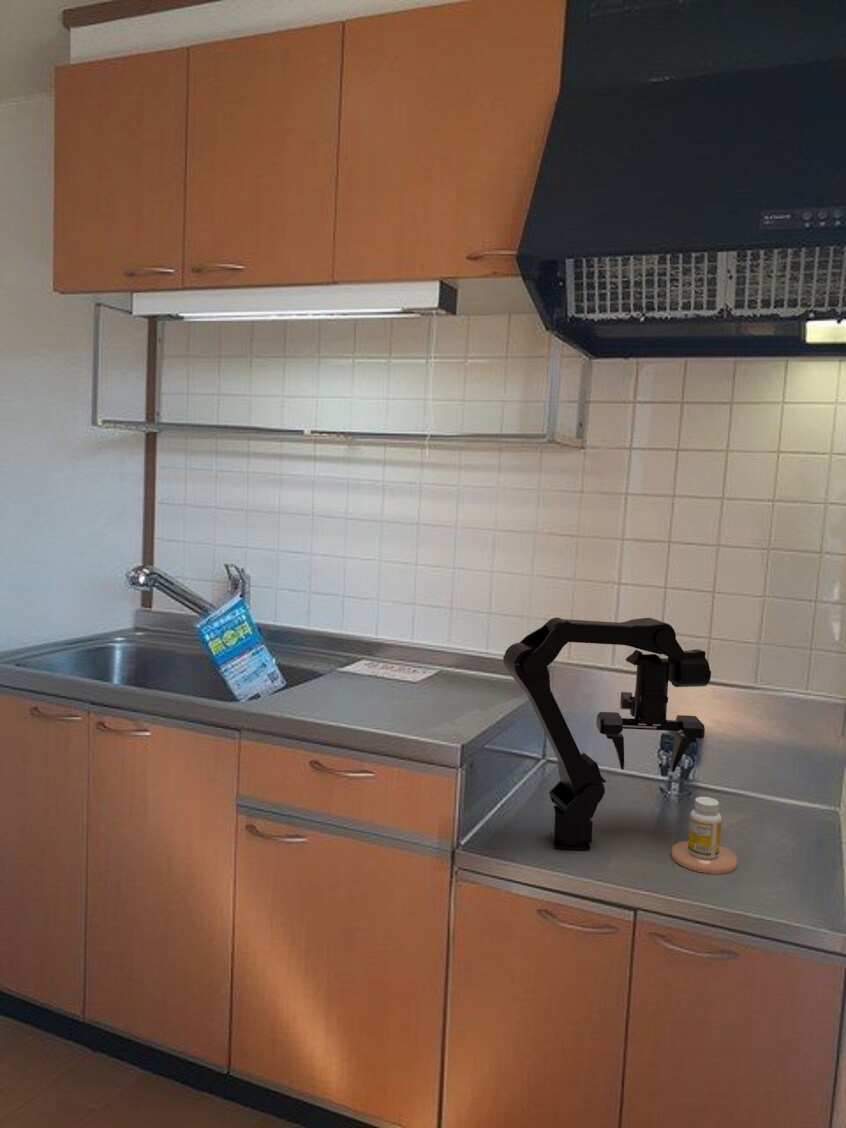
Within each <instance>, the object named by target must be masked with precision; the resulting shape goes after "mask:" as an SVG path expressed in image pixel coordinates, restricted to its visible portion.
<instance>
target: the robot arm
mask: <svg viewBox="0 0 846 1128" xmlns="http://www.w3.org/2000/svg"><path fill="white" fill-rule="evenodd" d="M672 626H673V625H671V624H670V623H666V622H664V621H661V620H659V619H655V618H653V617H642V618H636V619H635V618H633V619H629V620H627V621H621V622H615V621H600V620H599V621H598V620H597V621H596V620H585V619H584V620H581V619H569V618H568V619H567V618H565V619H564V618H561V617H553V618H551V619H549V620H548V621H547V622H546V623H544V625H542V626H541V627H539V628H537V629H535V630H534V631H532V632H530V634H528V635H526V636H525V637H524V638H522V640H520V641H519V642H516V643H513V644H511V645H509V647H508V648H507V649H506V650H505V652H504V654H503V658H502V659H503V664H504V666H505V668H506V670H507V671H508V673H509V674H510V676H511V677H512V678H513V679H514V681H515V682H516V684H517V685H518V686H519V687H520V688H521V689H522V690H523V692H524V693H525V695H526V696H527V698H528V699H529V702H530V704H531V706H532V708H533V710H534V712H535V714H536V717H537V718H538V722H539V723H540V725H541V727H542V729H543V731H544V733H545V735H546V737H547V739H548V742H549V744H550V746H551V748H552V750H553V753H554V754H555V757H556V759H557V764H558V765H557V768H558V771H557V772H558V775H559V779H560V780H559V781H558V783H556V785H555V786H553V787H552V788H551V790H550V791H549V792H548V795H549V798H550V801H551V803H553V813H552V814H553V815H552V816H553V817H552V831H550V838H551V841H552V847H553V848H554V849H559V850H560V849H561V850H579V851H581V850H583V851H590V850H591V846H590V844H592V842H593V824H594V823H593V817H594V816H595V812H596V810H597V807H598V805H599V803H600V802H601V801H602V800H603V799H604V796H605V793H606V788H605V785H604V783H607V781H606V779H605V778H603V775H602V774H601V771H600V768H599V765H598V762H596V761H595V760H594V759H593V758H591V757H590V756H589V755H588V754H586V753H585V752H583V753H581V752H580V749H579V748H578V746H577V744H576V741H575V739H574V737H573V735H572V732H571V730H570V729H569V726H568V724H567V722H566V719H565V717H564V715H563V714H562V713H563V712H562V711H561V709H560V707H559V705H558V703H557V699H555V696H554V694H553V691H552V689H551V679H550V678H551V676H550V673H549V669H548V666H549V665H551V663H553V662H554V661H555V660H556V659H557V657H558V656H559V654H560V652H561V651H562V649H563V648H564V647H565V646H566V645H567V644H568V643H577V644H579V643H581V644H595V645H596V644H597V645H599V644H600V645H613V646H614V645H616V646H619V645H620V646H628V647H631V648H635V650H634V651H633V652H632V654H629V656H627V657H626V658H625V661H626V662H627V663H630V665H634V666H636V676H635V677H636V678H635V679H636V680H635V691H634V696H633V693H632V692H628V691H621V692H620V700H619V701H620V704H619V705H620V709H621V710H629V714H630V716H631V717H633V718H626V717H624V718H623V717H622V716H621V715H620V713H619V712H612V711H600V712H598V713H597V714H596V723H595V724H596V727H597V730H598V732H599V734H602V735H605V737H606V738H607V739H609V740H612V743H613V745H614V748H615V752H616V756H617V760H618V762H619V763H618V764H619V767H620V769H621V770H622V771H623V770H624V768H625V739H624V738H625V737H624V736H623V733H622V732H623V730H642V731H643V730H644V731H645V730H646V731H668V732H673V746H672V752H671V758H670V771H671V773H674V772H675V771H676V769H677V767H678V765H679V763H680V761H681V759H682V757H683V756H684V754H685V753H686V752H687V750H688V749H689V747H690V745H691V744H693V743H697V741H698V740H697V739H700V740H701V739H702V740H703V739H704V738H705V732H706V731H705V724H703V722H702V721H701V720H700V719H699V718H698V717H697V716H696V715H686V714H685V715H682V714H677V715H676V718H675V720H673V719H672V720H671V719H670V720H669V719H667V713H668V712H667V710H668V703H669V697H668V696H669V695H668V691H669V682H670V683H671V685H672V686H673V687H675V688H692V687H693V688H694V687H706V686H708V685H709V683H710V682H711V681H710V680H711V677H712V671H711V669H710V663H709V661H708V660H707V658H706V651H705V650H702V649H699V648H698V649H692V650H691V649H690V650H683V648H682V647H681V645H680V644H679V642H678V640H677V639H676V638H677V636H676V631H675V629H674V628H673V627H672ZM640 650H641V651H640ZM642 651H645V652H648V653H645V654H644V653H643V652H642ZM659 655H663V656H666V657H665V658H664V657H663V658H662V657H660V656H659Z"/></svg>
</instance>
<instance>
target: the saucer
mask: <svg viewBox="0 0 846 1128" xmlns="http://www.w3.org/2000/svg"><path fill="white" fill-rule="evenodd" d="M671 858H672V860H673V861H674V862H675V863H676V862H677V863H678V864H677V863H676V864H677V865H679V864H680V865H681V866H680V865H679V866H680V867H682V866H683V867H682V868H684V867H685V869H687V868H688V869H687V870H689V869H690V871H692V870H694V871H693V872H696V871H697V872H696V873H700V872H703V873H702V874H706V873H708V874H707V875H723V874H724V875H725V874H729V873H732V872H734V871H735V870H736V869H737V868H738V867H737V866H738V855H736V853H735V852H733V851H732V850H731V849H729V848H727V847H725V846H722V845H720V848H719V855H718V857H716V858H714V859H701V858H698V857H695V856H693V855H691V854H690V853H689V852H688V840H684V841H680V842H677V843H675V844H674V845H673V846H672V847H671ZM709 873H710V874H709Z"/></svg>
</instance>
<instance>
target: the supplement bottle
mask: <svg viewBox="0 0 846 1128" xmlns="http://www.w3.org/2000/svg"><path fill="white" fill-rule="evenodd" d="M694 807H695V808H694V809H692V810H691V812H690V814H689V823H688V825H689V827H688V840H687V841H688V852H689V853H690V854H691V855H693V856H695V857H698V858H701V859H714V858H716V857H718V855H719V848H720V846H721V836H722V835H721V834H722V823H723V822H722V821H723V820H722V819H723V818H722V816H721V814H720V813H719V809H720V801H718V800H717V799H715V798H712V797H707V796H698V797H696V798H695V799H694Z"/></svg>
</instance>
